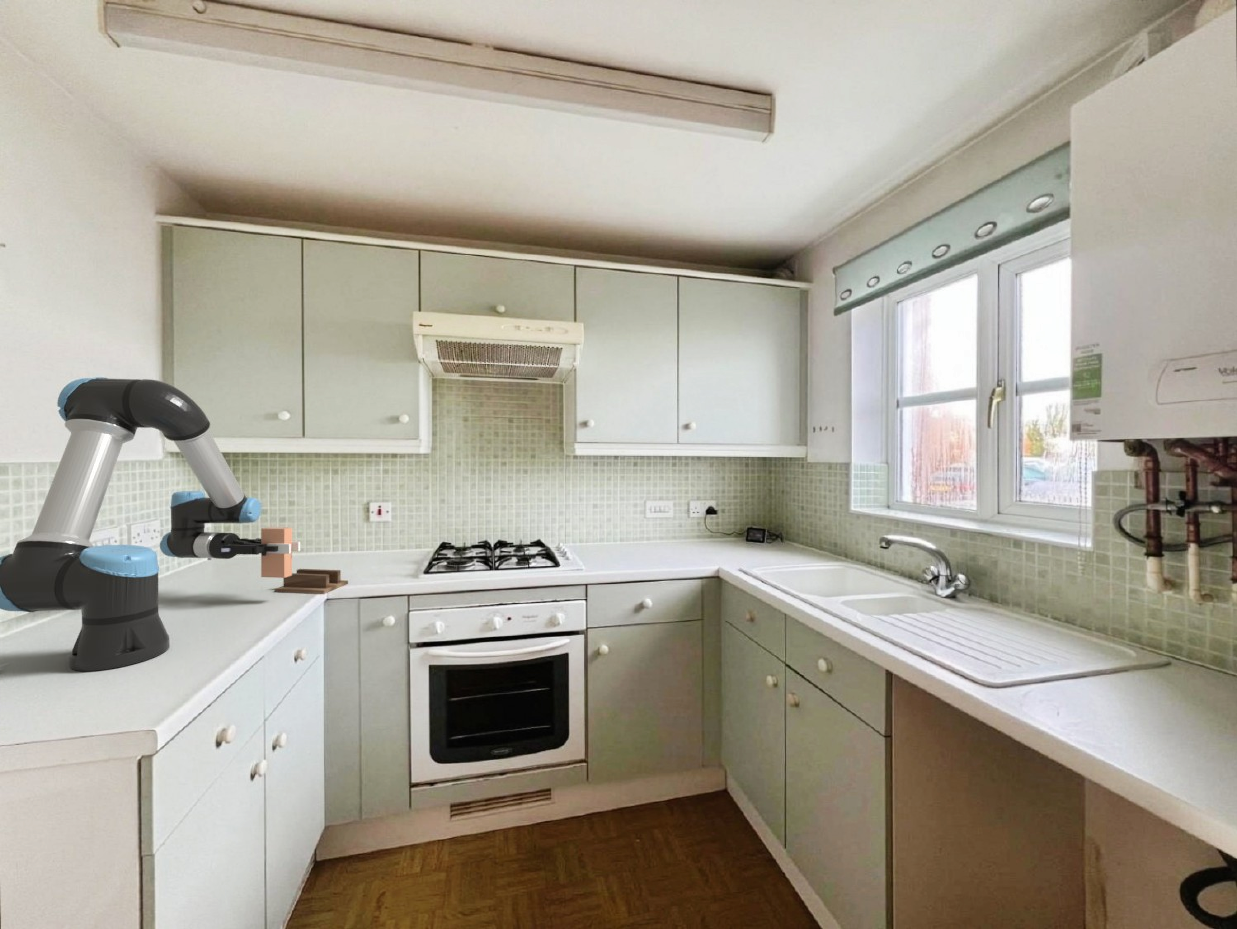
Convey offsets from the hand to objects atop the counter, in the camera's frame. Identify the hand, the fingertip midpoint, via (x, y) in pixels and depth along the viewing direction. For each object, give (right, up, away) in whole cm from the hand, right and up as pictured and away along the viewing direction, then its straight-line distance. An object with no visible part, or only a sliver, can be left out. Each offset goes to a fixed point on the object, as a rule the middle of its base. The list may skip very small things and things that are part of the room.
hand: (294, 547), depth 145 cm
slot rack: (-4, -15, +16) cm, 22 cm away
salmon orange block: (-6, -8, +1) cm, 10 cm away
